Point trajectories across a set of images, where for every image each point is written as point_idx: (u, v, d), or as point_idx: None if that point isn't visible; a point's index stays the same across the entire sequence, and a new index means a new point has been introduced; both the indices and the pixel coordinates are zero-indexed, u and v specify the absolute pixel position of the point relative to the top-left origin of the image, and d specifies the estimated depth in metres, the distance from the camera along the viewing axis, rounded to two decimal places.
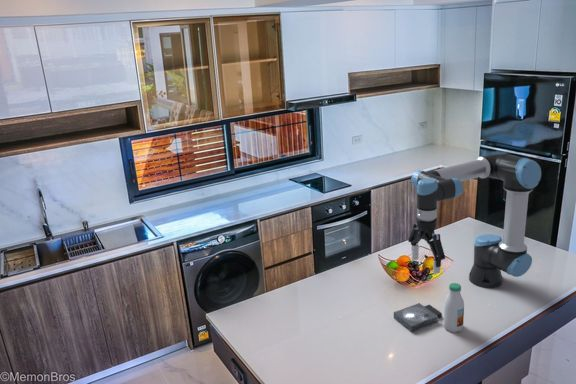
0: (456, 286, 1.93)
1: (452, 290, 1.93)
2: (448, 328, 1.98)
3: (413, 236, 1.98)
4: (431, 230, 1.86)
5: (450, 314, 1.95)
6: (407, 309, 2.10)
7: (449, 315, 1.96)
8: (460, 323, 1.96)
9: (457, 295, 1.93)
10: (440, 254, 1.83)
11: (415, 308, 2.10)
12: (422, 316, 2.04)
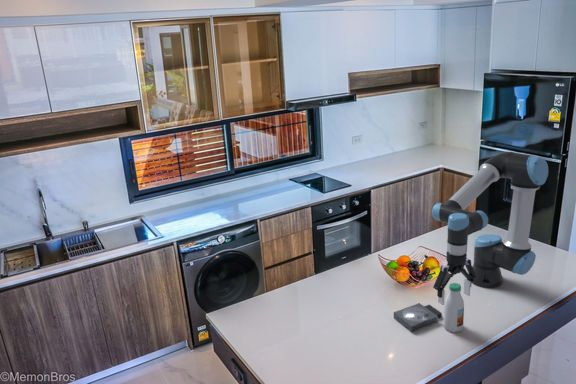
0: (456, 286, 1.93)
1: (452, 290, 1.93)
2: (448, 328, 1.98)
3: (468, 271, 1.96)
4: (448, 262, 1.90)
5: (450, 314, 1.95)
6: (407, 309, 2.10)
7: (449, 315, 1.96)
8: (460, 323, 1.96)
9: (457, 295, 1.93)
10: (436, 283, 1.90)
11: (415, 308, 2.10)
12: (422, 316, 2.04)
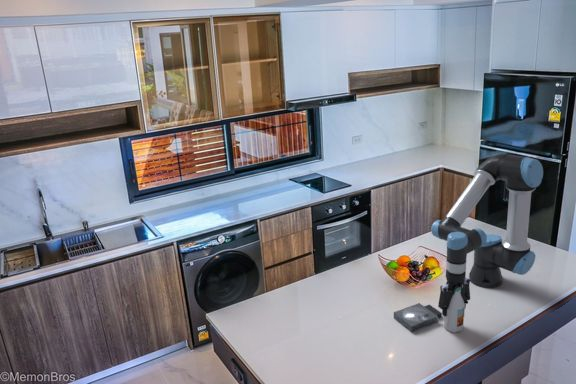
0: None
1: None
2: (448, 328, 1.98)
3: (464, 291, 1.98)
4: None
5: (450, 314, 1.95)
6: (407, 309, 2.10)
7: (449, 315, 1.96)
8: (460, 323, 1.96)
9: (457, 295, 1.93)
10: (439, 303, 1.94)
11: (415, 308, 2.10)
12: (422, 316, 2.04)
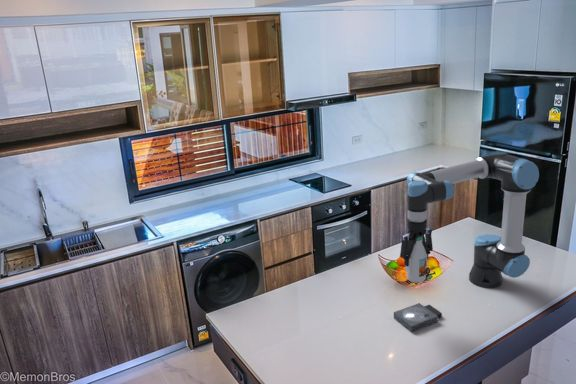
0: None
1: None
2: (410, 279, 1.98)
3: (427, 242, 1.98)
4: None
5: (412, 264, 1.95)
6: (407, 309, 2.10)
7: (411, 265, 1.96)
8: (422, 273, 1.96)
9: (419, 244, 1.93)
10: (401, 253, 1.94)
11: (415, 308, 2.10)
12: (422, 316, 2.04)
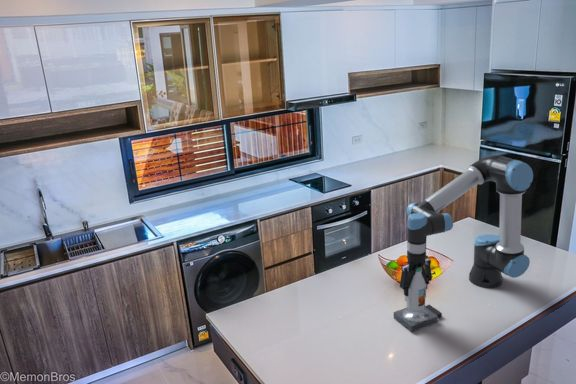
0: None
1: None
2: (410, 308, 2.02)
3: (426, 272, 2.03)
4: None
5: (411, 294, 2.00)
6: (407, 309, 2.10)
7: None
8: (421, 303, 2.01)
9: (418, 275, 1.98)
10: (401, 283, 1.98)
11: None
12: (422, 316, 2.04)
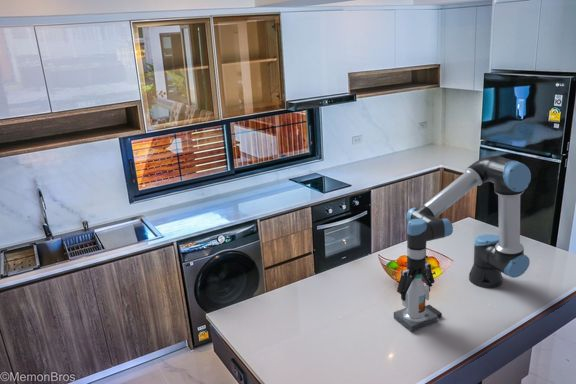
0: None
1: None
2: (410, 314, 2.04)
3: (428, 275, 2.04)
4: None
5: (412, 301, 2.01)
6: None
7: (410, 302, 2.02)
8: (422, 309, 2.02)
9: (418, 282, 1.99)
10: (398, 287, 1.99)
11: None
12: None
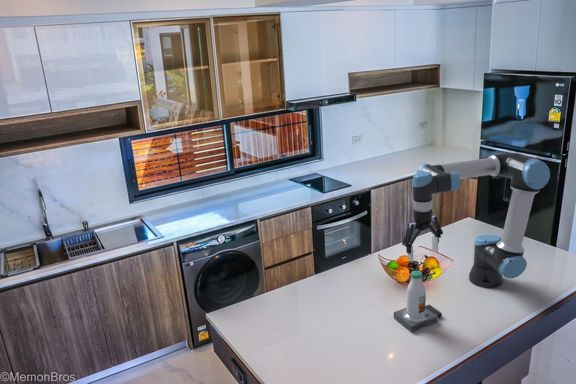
0: (417, 273, 1.99)
1: (413, 277, 1.99)
2: (410, 315, 2.04)
3: (435, 227, 2.05)
4: (414, 219, 1.98)
5: (412, 301, 2.01)
6: None
7: (411, 302, 2.01)
8: (422, 310, 2.02)
9: (418, 282, 1.99)
10: (404, 240, 1.98)
11: None
12: None
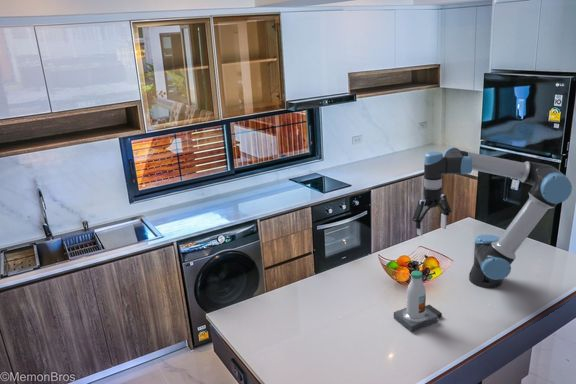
0: (417, 273, 1.99)
1: (413, 277, 1.99)
2: (410, 314, 2.04)
3: (444, 206, 2.17)
4: (425, 196, 2.10)
5: (412, 301, 2.01)
6: None
7: (411, 302, 2.01)
8: (422, 310, 2.02)
9: (418, 282, 1.99)
10: (414, 216, 2.10)
11: None
12: None
